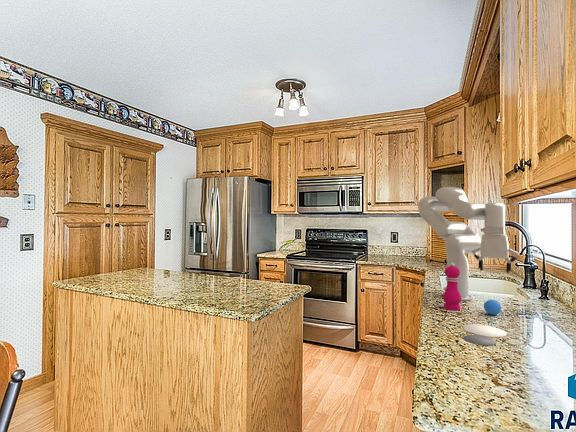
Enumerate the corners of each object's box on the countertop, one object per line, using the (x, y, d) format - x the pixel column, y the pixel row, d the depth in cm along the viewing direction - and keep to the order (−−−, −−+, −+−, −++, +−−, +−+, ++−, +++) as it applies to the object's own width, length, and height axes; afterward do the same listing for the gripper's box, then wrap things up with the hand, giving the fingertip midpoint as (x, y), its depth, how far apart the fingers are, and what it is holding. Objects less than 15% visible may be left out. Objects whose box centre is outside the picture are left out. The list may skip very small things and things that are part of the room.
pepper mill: (457, 306, 145) (457, 261, 145) (464, 311, 138) (464, 263, 138) (440, 306, 146) (440, 261, 146) (446, 310, 139) (446, 263, 139)
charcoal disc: (457, 336, 107) (457, 335, 107) (480, 334, 109) (480, 334, 109) (478, 346, 99) (478, 346, 99) (503, 344, 100) (503, 344, 100)
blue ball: (480, 312, 136) (480, 298, 136) (492, 312, 137) (492, 297, 137) (492, 317, 130) (492, 302, 130) (504, 316, 131) (504, 301, 131)
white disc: (454, 325, 118) (454, 325, 118) (484, 323, 121) (484, 323, 121) (483, 338, 106) (483, 337, 106) (516, 335, 108) (516, 335, 108)
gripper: (470, 231, 143) (470, 270, 143) (518, 232, 133) (518, 274, 132) (473, 230, 149) (473, 268, 149) (519, 231, 139) (519, 272, 138)
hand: (494, 271), depth 141 cm, fingers open, 9 cm apart
